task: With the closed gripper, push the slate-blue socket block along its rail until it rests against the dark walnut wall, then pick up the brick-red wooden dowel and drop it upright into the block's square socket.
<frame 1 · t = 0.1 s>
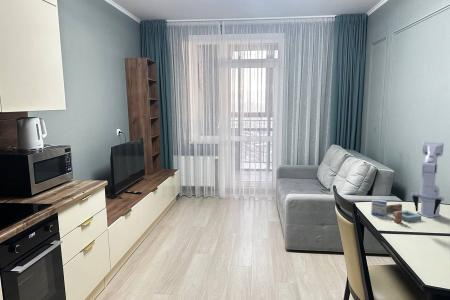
hand: (425, 212, 163), 10 cm above the table, tool pointing down, fingers open, 7 cm apart
walnut wall: (391, 211, 196), on the table
brick dowel: (397, 222, 178), on the table
socket block: (406, 216, 184), point 1 cm above the table, slide at 0.0 cm
medicine box: (378, 214, 191), on the table
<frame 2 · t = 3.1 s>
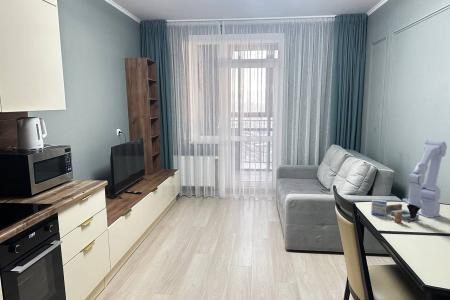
hand: (412, 217, 180), 2 cm above the table, tool pointing down, fingers closed
socket block: (404, 215, 186), point 1 cm above the table, slide at 1.8 cm, touching gripper
everything else where it was.
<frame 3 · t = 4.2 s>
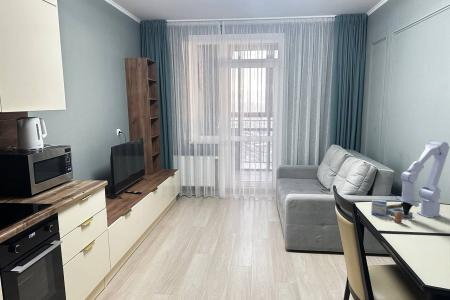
hand: (406, 215, 185), 2 cm above the table, tool pointing down, fingers closed, pressing on socket block
socket block: (398, 212, 190), point 1 cm above the table, slide at 6.1 cm, touching gripper, walnut wall
everything else where it was.
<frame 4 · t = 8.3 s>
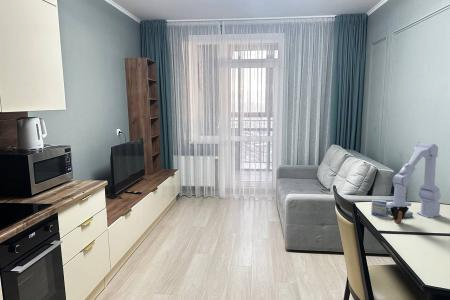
hand: (398, 219, 178), 2 cm above the table, tool pointing down, fingers closed on brick dowel, 3 cm apart
brick dowel: (397, 222, 178), on the table, touching gripper
socket block: (398, 212, 190), point 1 cm above the table, slide at 6.0 cm
everything else where it was.
when the fingers open (3 cm above the table, at t = 12.2 s): brick dowel drops 1 cm, resting on socket block.
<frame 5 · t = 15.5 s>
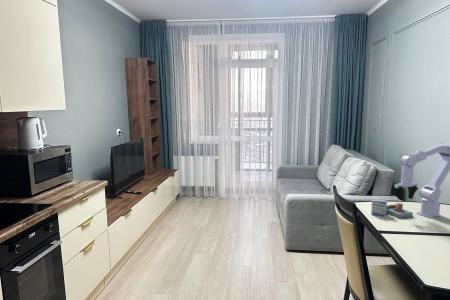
hand: (405, 199, 186), 10 cm above the table, tool pointing down, fingers open, 7 cm apart
brick dowel: (398, 213, 190), point 1 cm above the table, touching socket block
socket block: (398, 212, 190), point 1 cm above the table, slide at 6.0 cm, touching brick dowel
everything else where it was.
at the end: socket block slide at 6.0 cm; brick dowel 0.0 cm off-centre on the socket block, point 0.6 cm above the socket block's base; brick dowel tilted 0° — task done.
